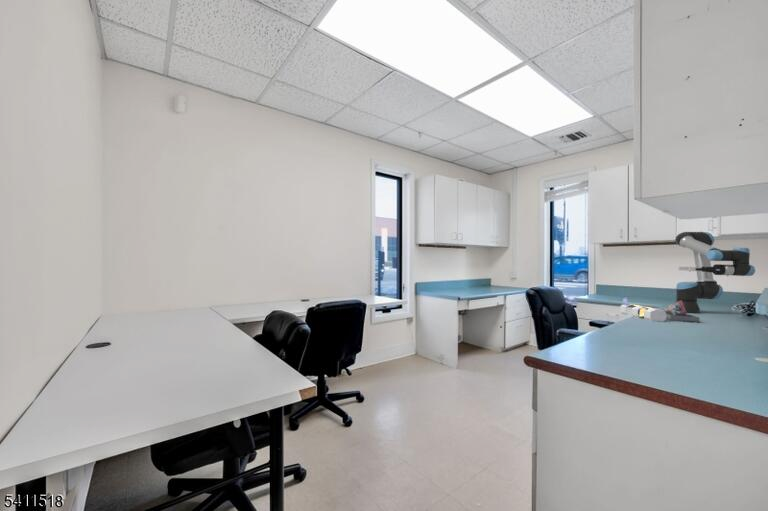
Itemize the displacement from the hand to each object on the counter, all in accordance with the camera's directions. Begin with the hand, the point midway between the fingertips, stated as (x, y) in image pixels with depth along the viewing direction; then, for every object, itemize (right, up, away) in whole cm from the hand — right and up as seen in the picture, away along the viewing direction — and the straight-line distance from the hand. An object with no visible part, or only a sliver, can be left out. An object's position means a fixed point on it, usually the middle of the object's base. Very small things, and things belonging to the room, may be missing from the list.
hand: (683, 268), depth 222 cm
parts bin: (-21, -33, -17) cm, 43 cm away
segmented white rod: (-41, -33, -12) cm, 54 cm away
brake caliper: (-23, -31, -17) cm, 42 cm away
